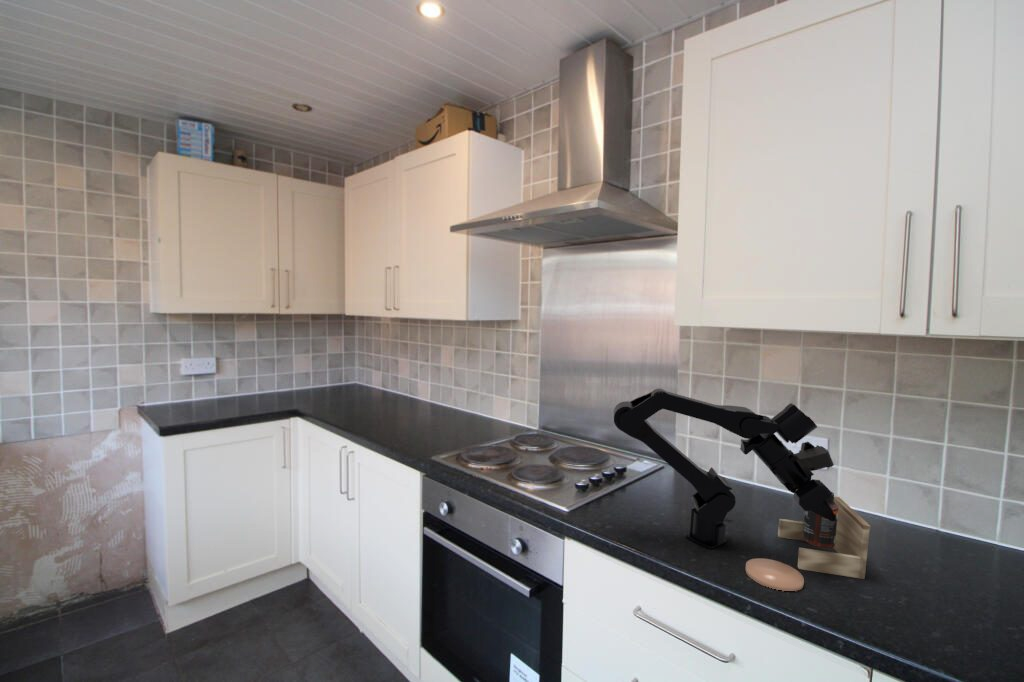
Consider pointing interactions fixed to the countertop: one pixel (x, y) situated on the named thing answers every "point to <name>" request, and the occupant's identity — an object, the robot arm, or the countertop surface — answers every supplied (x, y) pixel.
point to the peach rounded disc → (774, 574)
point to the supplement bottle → (821, 527)
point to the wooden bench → (847, 544)
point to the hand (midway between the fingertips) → (828, 513)
